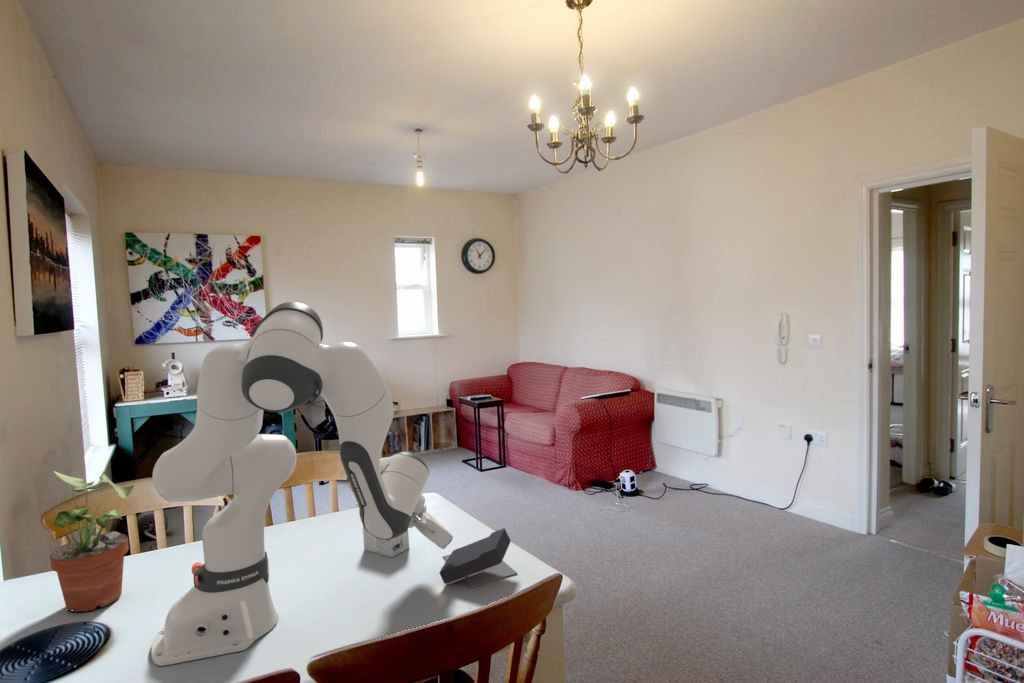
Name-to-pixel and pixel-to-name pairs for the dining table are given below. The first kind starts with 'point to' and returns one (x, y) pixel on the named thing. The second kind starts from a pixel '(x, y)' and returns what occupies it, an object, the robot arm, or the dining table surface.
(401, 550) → the light bulb box
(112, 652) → the dining table surface
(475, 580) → the mat
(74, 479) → the potted plant
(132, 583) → the dining table surface
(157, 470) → the robot arm
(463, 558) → the dark grey lidded case
